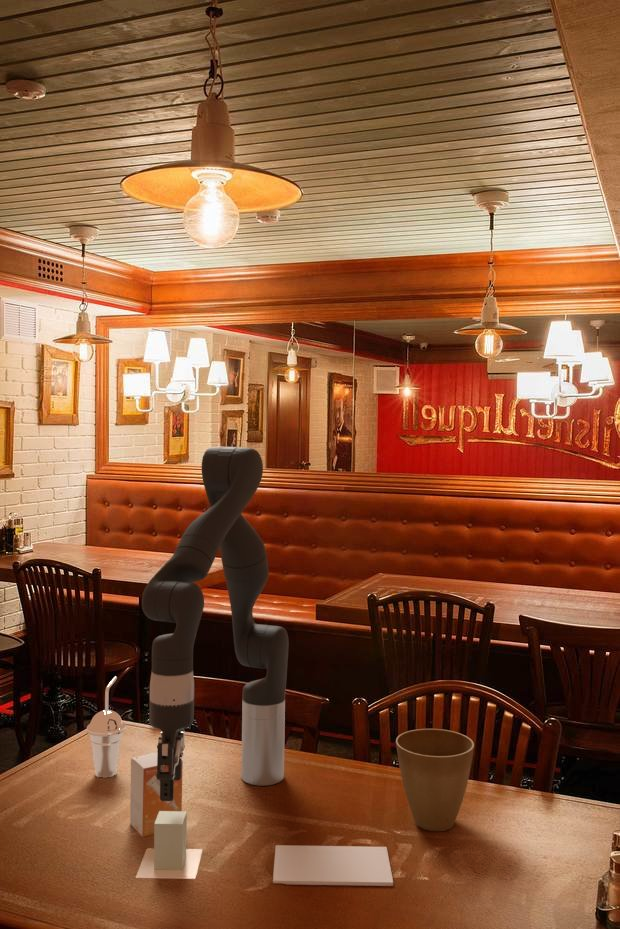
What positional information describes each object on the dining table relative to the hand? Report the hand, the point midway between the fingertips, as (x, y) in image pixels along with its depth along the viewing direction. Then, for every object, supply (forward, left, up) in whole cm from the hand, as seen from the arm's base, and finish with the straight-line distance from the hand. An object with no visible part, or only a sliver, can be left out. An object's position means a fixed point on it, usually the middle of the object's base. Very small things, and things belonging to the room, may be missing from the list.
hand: (170, 789), depth 146 cm
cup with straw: (-38, -20, -13) cm, 45 cm away
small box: (-14, -5, -13) cm, 20 cm away
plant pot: (-17, +48, -13) cm, 53 cm away
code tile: (0, 0, -13) cm, 13 cm away
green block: (0, 0, -13) cm, 13 cm away
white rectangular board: (0, +28, -13) cm, 31 cm away
